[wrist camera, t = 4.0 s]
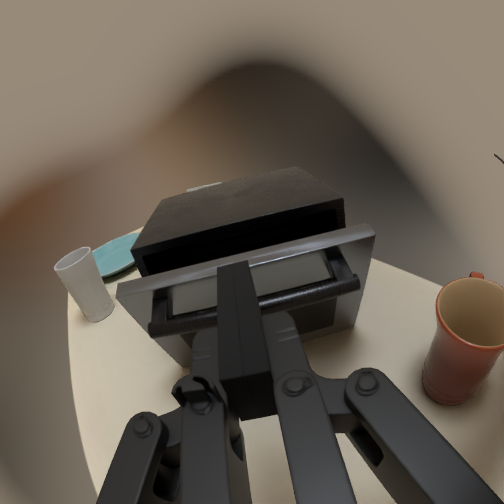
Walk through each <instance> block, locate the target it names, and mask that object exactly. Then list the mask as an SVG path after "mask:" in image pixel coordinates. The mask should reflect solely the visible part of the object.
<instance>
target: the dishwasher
mask: <svg viewBox="0 0 504 504" xmlns="http://www.w3.org/2000/svg"><path fill="white" fill-rule="evenodd" d="M345 225H346V224H345V212H344V200H343V197H342V196H340V195H339V194H337V193H336V192H335V191H333V190H332V189H330V188H329V187H327V186H326V185H324V184H323V183H322V182H320V181H319V180H317V179H316V178H314V177H313V176H311V175H310V174H308V173H307V172H305V171H304V170H302V169H300V168H299V167H297V166H296V167H291V168H286V169H281V170H276V171H272V172H267V173H262V174H258V175H254V176H249V177H245V178H241V179H237V180H233V181H228V182H224V183H220V184H217V185H213V186H209V187H205V188H201V189H198V190H194V191H190V192H187V193H183V194H180V195H176V196H173V197H169V198H166V199H163V200H161V202H160V203H159V205H158V206H157V208H156V209H155V211H154V213H153V214H152V215H151V217H150V219H149V220H148V222H147V223H146V225H145V226H144V228H143V230H142V231H141V233H140V234H139V236H138V238H137V239H136V241H135V243H134V244H133V246H132V248H131V249H130V252H131V254H132V256H133V258H134V261H135V263H136V265H137V268H138V270H139V272H140V274H141V276H142V277H146V276H150V275H154V274H159V273H163V272H167V271H171V270H175V269H179V268H183V267H187V266H191V265H195V264H199V263H203V262H208V261H212V260H216V259H220V258H224V257H228V256H232V255H236V254H240V253H244V252H249V251H253V250H257V249H261V248H265V247H269V246H273V245H277V244H281V243H285V242H290V241H294V240H298V239H302V238H306V237H310V236H314V235H318V234H323V233H327V232H331V231H335V230H339V229H343V228H346V226H345Z"/></svg>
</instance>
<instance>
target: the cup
mask: <svg viewBox="0 0 504 504" xmlns="http://www.w3.org/2000/svg"><path fill="white" fill-rule="evenodd" d="M54 270H55V271H56V273H57V274H58V276H59V277H60V279H61V281H62V282H63V284H64V285H65V287H66V288H67V290H68V291H69V293H70V294H71V296H72V297H73V299H74V300H75V302H76V303H77V304H78V306H79V307H80V309H81V310H82V312H83V313H84V314H85V316H86V318H87V319H88V321H90V322H98V321H100V320H102V319H104V318H106V317H107V316H108V315H109V314H110V313H111V312H112V311H113V309H114V304H113V302H112V300H111V298H110V296H109V294H108V291H107V289H106V287H105V284H104V282H103V280H102V277H101V275H100V272H99V270H98V267H97V265H96V262H95V259H94V257H93V254H92V251H91V248H89V247H83V248H80V249H77V250H75V251H73V252H71V253H69V254H68V255H66V256H65V257H63V258H62V259H61V260H60V261H58V263H57V264H56V265H55V267H54Z"/></svg>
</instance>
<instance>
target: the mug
mask: <svg viewBox="0 0 504 504" xmlns="http://www.w3.org/2000/svg"><path fill="white" fill-rule="evenodd" d="M436 318H437V329H436V333H435V336H434V339H433V341H432V344H431V346H430V349H429V352H428V355H427V357H426V359H425V363H424V369H423V384H424V387H425V390H426V391H427V393H428V394H429V396H430V397H431V398H432V399H434V400H435V401H437V402H439V403H441V404H444V405H458V404H461V403H464V402H466V401H467V400H469V399H470V398H472V397H473V396H474V395H475V393H476V392H477V391H478V390H479V389H480V388H481V387H482V386H483V384H484V382H485V380H486V379H487V377H488V375H489V374H490V372H491V370H492V368H493V366H494V364H495V362H496V361H497V359H498V357H499V356H500V354H501V353H502V352H503V351H504V288H503V287H501V286H500V285H498V284H497V283H495V282H492V281H489V280H486V279H484V276H483V274H482V273H480V272H472V273H471V274H470V276H469V277H464V278H460V279H457V280H454V281H452V282H450V283H448V284H447V285H445V286H444V287H443V288H442V289H441V291H440V292H439V294H438V296H437V299H436Z"/></svg>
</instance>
